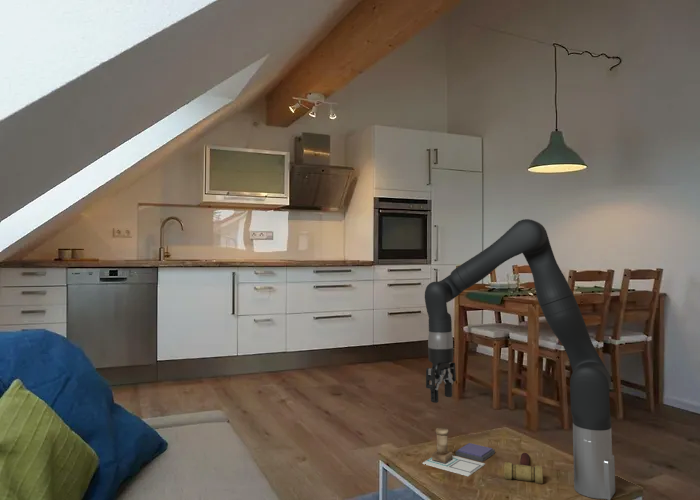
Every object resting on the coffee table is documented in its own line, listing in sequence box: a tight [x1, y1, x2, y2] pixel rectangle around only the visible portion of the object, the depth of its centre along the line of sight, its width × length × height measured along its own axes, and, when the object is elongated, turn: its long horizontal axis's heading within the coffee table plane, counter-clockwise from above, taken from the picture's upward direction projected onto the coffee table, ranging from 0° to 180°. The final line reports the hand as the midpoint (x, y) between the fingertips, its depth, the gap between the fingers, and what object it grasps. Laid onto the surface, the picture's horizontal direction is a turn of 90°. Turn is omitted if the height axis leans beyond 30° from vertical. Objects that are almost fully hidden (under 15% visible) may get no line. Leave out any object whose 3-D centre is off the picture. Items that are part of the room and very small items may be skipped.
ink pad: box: [455, 442, 496, 463], centre depth 159 cm, size 9×9×2 cm
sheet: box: [422, 454, 486, 477], centre depth 151 cm, size 15×11×1 cm
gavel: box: [503, 452, 544, 485], centre depth 148 cm, size 21×5×10 cm
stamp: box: [431, 427, 453, 464], centre depth 154 cm, size 4×4×9 cm
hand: (441, 399), depth 154 cm, fingers open, 8 cm apart
